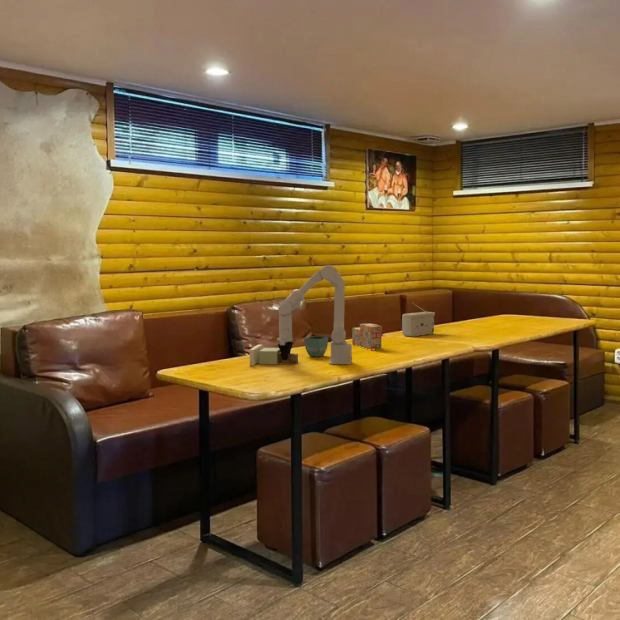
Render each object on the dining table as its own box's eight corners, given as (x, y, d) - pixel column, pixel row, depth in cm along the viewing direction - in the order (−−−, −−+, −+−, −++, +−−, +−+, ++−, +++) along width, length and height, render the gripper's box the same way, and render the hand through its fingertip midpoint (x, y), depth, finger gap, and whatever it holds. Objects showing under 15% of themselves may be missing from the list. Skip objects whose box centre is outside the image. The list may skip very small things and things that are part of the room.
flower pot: (313, 354, 325) (313, 336, 324) (329, 355, 320) (328, 337, 319) (303, 356, 317) (303, 338, 316) (319, 358, 313) (319, 339, 312)
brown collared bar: (298, 361, 304) (298, 351, 303) (295, 364, 296) (295, 353, 296) (270, 361, 306) (270, 350, 305) (266, 363, 299) (266, 353, 298)
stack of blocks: (351, 345, 355) (351, 322, 354) (362, 344, 357) (362, 321, 356) (370, 350, 335) (370, 326, 334) (381, 349, 338) (381, 325, 337)
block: (281, 360, 306) (281, 347, 306) (276, 364, 296) (276, 351, 296) (264, 360, 308) (264, 347, 307) (259, 364, 298) (259, 351, 297)
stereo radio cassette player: (425, 333, 401) (425, 299, 399) (435, 334, 394) (436, 300, 393) (401, 336, 388) (401, 302, 386) (412, 337, 381) (412, 302, 379)
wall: (262, 359, 311) (262, 344, 310) (254, 365, 295) (253, 349, 294) (258, 359, 311) (258, 344, 311) (249, 365, 295) (249, 349, 295)
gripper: (280, 326, 307) (280, 356, 309) (273, 330, 293) (273, 361, 294) (295, 327, 306) (295, 356, 307) (289, 330, 292) (289, 361, 293)
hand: (285, 358), depth 301 cm, fingers closed on brown collared bar, 4 cm apart
